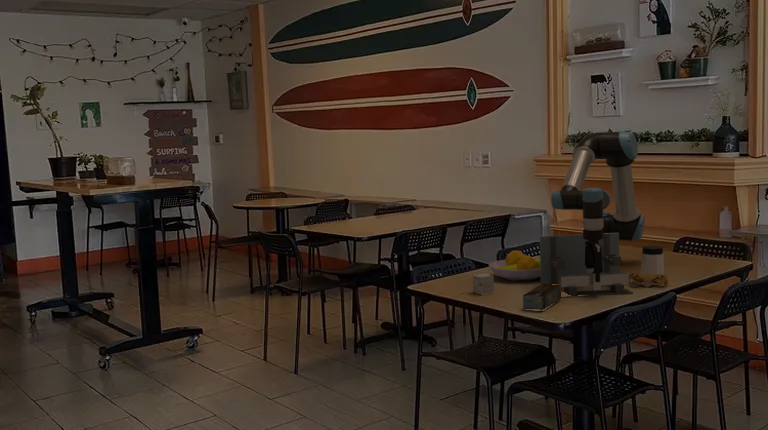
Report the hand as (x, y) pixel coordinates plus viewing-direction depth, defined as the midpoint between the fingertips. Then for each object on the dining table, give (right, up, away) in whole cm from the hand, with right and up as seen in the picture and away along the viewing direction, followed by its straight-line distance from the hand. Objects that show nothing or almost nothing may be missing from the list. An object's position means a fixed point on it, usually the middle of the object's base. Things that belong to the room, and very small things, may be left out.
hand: (593, 287), depth 295 cm
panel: (0, -1, +13) cm, 13 cm away
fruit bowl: (-21, +1, +35) cm, 40 cm away
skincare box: (-41, -3, +9) cm, 42 cm away
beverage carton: (-23, -6, -14) cm, 27 cm away
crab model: (+24, 0, +11) cm, 27 cm away
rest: (0, -2, 0) cm, 2 cm away
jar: (+32, +2, +28) cm, 43 cm away
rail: (0, +1, 0) cm, 1 cm away
